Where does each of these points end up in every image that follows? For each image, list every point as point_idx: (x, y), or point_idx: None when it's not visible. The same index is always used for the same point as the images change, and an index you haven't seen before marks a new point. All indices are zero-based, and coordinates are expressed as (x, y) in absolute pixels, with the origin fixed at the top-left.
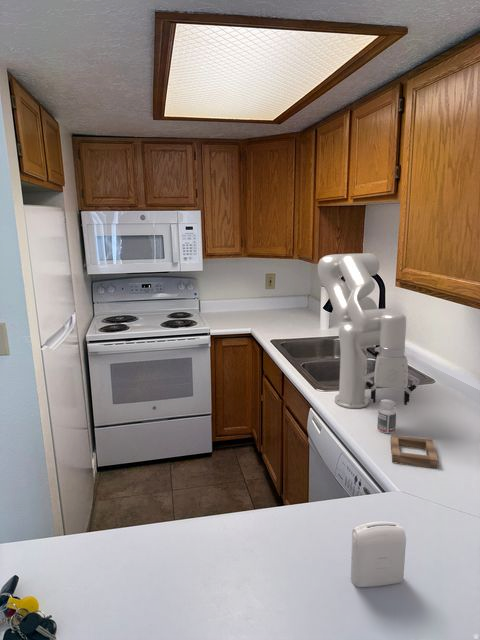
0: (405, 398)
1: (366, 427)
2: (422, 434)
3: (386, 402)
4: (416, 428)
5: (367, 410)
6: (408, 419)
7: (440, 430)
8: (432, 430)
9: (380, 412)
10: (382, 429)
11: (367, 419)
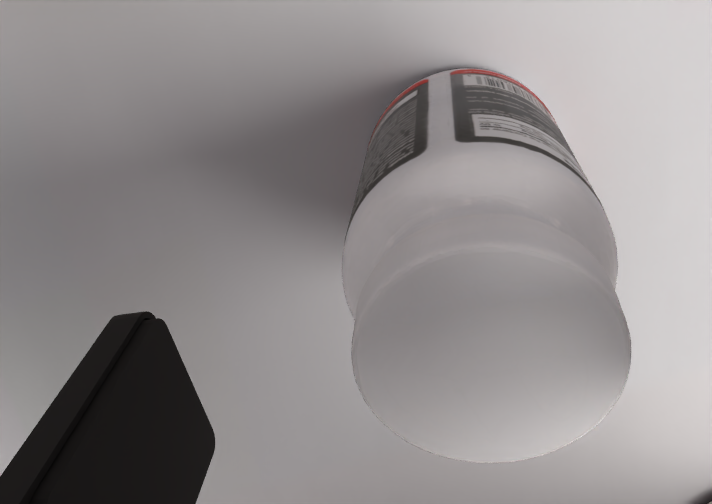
0: (84, 412)
1: (683, 131)
2: (128, 204)
3: (510, 357)
4: (204, 294)
5: (664, 468)
6: (299, 420)
7: (31, 327)
8: (81, 306)
9: (580, 179)
10: (501, 79)
11: (667, 310)
